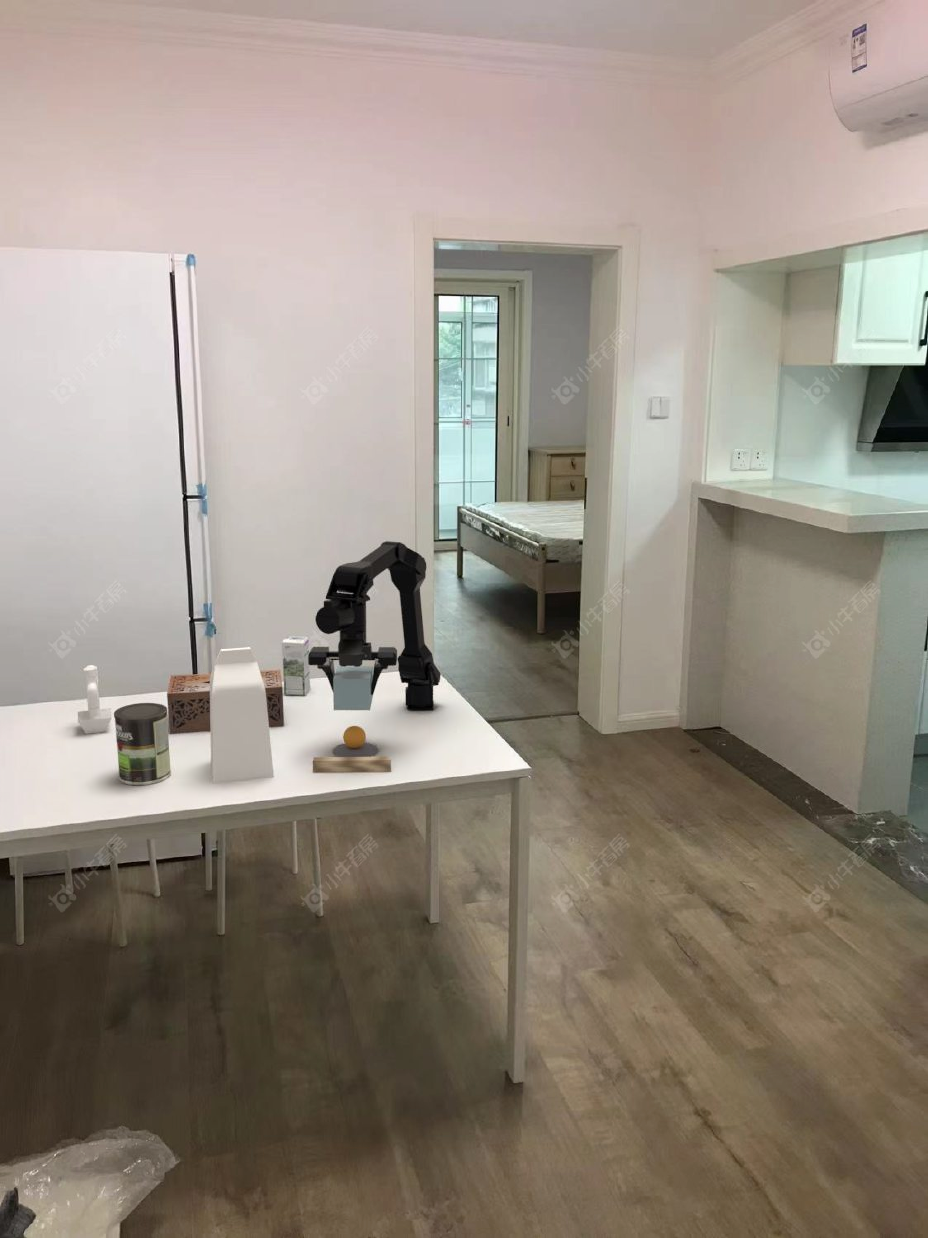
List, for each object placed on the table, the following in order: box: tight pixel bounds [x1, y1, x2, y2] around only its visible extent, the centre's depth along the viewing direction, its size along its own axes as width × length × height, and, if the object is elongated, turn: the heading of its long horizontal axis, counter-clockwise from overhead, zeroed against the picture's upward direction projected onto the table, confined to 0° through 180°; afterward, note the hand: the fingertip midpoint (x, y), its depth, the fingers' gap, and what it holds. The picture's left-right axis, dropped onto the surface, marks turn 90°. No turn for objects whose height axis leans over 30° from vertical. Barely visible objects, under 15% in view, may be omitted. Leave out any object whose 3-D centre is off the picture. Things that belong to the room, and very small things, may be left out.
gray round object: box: [332, 741, 380, 757], centre depth 218 cm, size 10×10×1 cm
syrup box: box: [281, 636, 311, 697], centre depth 257 cm, size 6×6×14 cm
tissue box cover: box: [166, 669, 285, 735], centre depth 237 cm, size 26×14×10 cm, turn 102°
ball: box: [342, 725, 367, 749], centre depth 220 cm, size 5×5×5 cm
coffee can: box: [113, 702, 172, 786], centre depth 203 cm, size 10×10×14 cm
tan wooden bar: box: [312, 756, 392, 773], centre depth 207 cm, size 16×2×2 cm, turn 92°
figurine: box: [77, 664, 112, 735], centre depth 229 cm, size 7×9×15 cm
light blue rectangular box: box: [332, 665, 374, 711], centre depth 217 cm, size 8×11×7 cm
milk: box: [209, 646, 274, 784], centre depth 205 cm, size 12×12×26 cm
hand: (353, 694), depth 217 cm, fingers closed on light blue rectangular box, 8 cm apart
